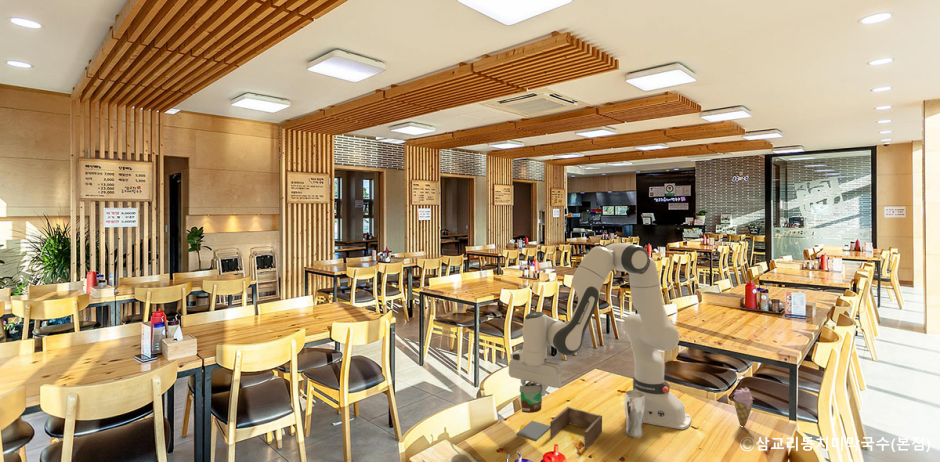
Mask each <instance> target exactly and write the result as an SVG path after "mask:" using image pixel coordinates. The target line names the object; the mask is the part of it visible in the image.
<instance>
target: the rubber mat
mask: <svg viewBox="0 0 940 462" xmlns="http://www.w3.org/2000/svg"><path fill="white" fill-rule="evenodd" d="M549 430H550V425H547V424H544V423H542V422H538V421H535V420H531V421H530V422H528V423H527V424H526V425H525V426H523V427H522V428H521V429H520V430H519V431H517V432H516V435H517V436H521V437H524V438H527V439H529V440H534V441H538V440H539V439H540V438H541V437H543V435H544V434H545V433H547V432H548V431H549Z"/></svg>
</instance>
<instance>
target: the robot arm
mask: <svg viewBox="0 0 940 462" xmlns="http://www.w3.org/2000/svg"><path fill="white" fill-rule="evenodd" d="M613 270H614V271H618V272H625V273H626V272H627V274H628V275H629V276H628V277H629V280H628V281H629V288H630V289H629V290H630V296H631V297H630V298H631V304H632V306H633V308H634V309H635V310H636V311H637V313H631V314H629V315H627V317H625V319H624V321H623V326H622V327H623V328H622V329H623V331H624V333H625V334H626V335H627V337H628V340H629V341H630V342H629V343H630V345H631V350H632V353H633V354H632V355H633V358H634V359H633V360H634V376H633V380H632V390H635V391H640V392H642V393H643V394H644V395H645V396H644V397H645V412H644V417H643V422H642V424H648V425H649V424H650V425H653V426H659V427H665V428H670V429H677V430H685V429H688V427H690V426H691V424H692V416H691V415H690V414H689V413H686V411H685V410H686V409H685V406H684V403H683V401H681V400H680V399H679V398H678V397H677V396H675V394H673V392H671V391H670V385H671V383H670V381H669V382H667V381H666V380H665V360H664V359H663V357H662V355H661V354H660V352H659V351H665V352H667V351H669V352H670V351H672V350H674V349H675V348H677V346H678V344H679V342H680V332H679V331H678V329H677V328H676V327H675V325H673V323H672V321H671V320H670V318H669V316H668V314H667V312H666V309H665V306H664V303H663V299H662V290H661V284H660V283H661V282H660V278H659V276H660V275H659V272H658V269H657V265H656V262H655V260H654V259H653V258H652V257H650V255H649V253H648V251H647V250H646V249H645V248H644V247H642V246H641V245H638V244H634V243H629V242H609V243H606V244H604V245H603V246H599V245H598V246H594V247H592V248H591V249H590V250H589V251H588V252H587V253H586V255H585V256H584V258H582V260H581V261H580V263H579V265H578V267H577V268H576V270H575V272H574V274H573V276H572V279H571V284H572V288H573V290H574V291H575V293H576V295H577V299H578V300H577V303H576V307H575V309H574V311H573V313H572V315H571V317H570V319H569V321H568V322H567V323H565V322H564V321H562V320H559V319H556V318H553V317H551V316H549V315H547V314H546V313H545V312H543V311H534V312H533V311H532V312H529V313H528V314H526V315H525V317H524V319H523V324H522V325H523V326H522V339H523V345H522V348H521V349H518V350H516V351H514V352H512V353H510V358H509V359H510V361H509V364H508V375H509V377H510V378H513V379H518V380H520V384H521V386H525V385H526V384H527V382H533V383H537V384H541V385H542V387H543V390H541V391H540V396H542V398H543V397H545V396H546V391H547V389H548V387H550V388H554V389H557V388H559V386H561V384H562V373H561V372H562V366H561V364H560V363H558V361H556V360H551V359H548V357H547V356H548V346H551V347H553V348H554V349H556V350H557V351H558V352H559V353H560V354H562V355H564V356H572V355H575V354H576V353H578V352H579V350H580V349H581V348H582V346H583V343H584V338H585V333H586V330H587V328H588V325H590V324H589V323H590V321H591V319H592V317H593V314H594V312H595V310H596V308H597V305H598V304H599V303H598V302H599V300H600V299H599V297H600V293H601V290H602V287H603V285H604V283H605V282H606V280H607V278H608V276H609V274H610V272H612V271H613ZM689 425H690V426H689Z"/></svg>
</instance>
